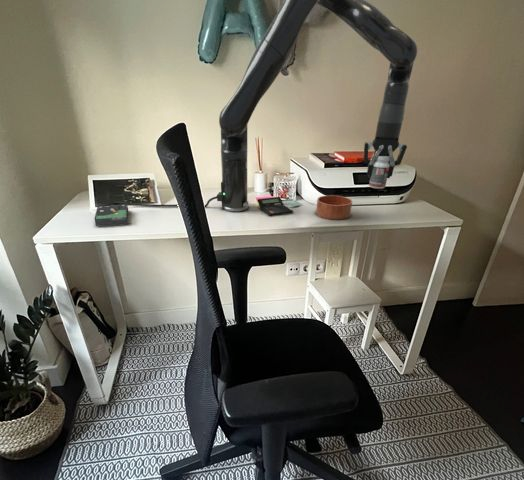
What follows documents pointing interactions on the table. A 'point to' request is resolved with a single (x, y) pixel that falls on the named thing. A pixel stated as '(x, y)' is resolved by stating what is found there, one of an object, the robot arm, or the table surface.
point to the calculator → (273, 206)
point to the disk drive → (111, 215)
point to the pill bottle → (379, 172)
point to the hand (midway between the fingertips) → (378, 177)
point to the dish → (334, 207)
